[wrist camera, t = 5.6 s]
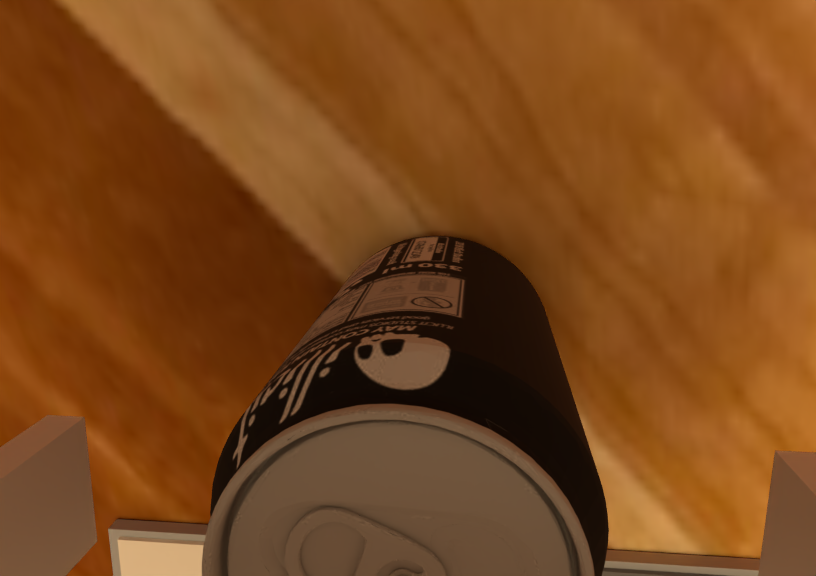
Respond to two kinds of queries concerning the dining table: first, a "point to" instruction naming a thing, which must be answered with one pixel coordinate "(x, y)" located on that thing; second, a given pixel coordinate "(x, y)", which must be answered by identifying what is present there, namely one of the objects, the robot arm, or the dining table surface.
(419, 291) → the beverage can
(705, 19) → the dining table surface
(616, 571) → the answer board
